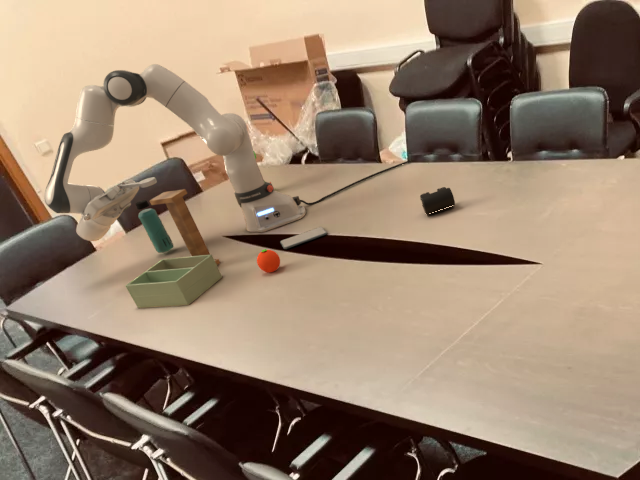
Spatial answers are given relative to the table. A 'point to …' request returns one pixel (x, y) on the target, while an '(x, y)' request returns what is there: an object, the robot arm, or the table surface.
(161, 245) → the beverage bottle
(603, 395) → the table surface
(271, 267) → the clementine
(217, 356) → the table surface
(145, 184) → the spoon
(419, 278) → the table surface
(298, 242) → the smartphone
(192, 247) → the oak stand
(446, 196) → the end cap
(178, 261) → the cutlery tray
